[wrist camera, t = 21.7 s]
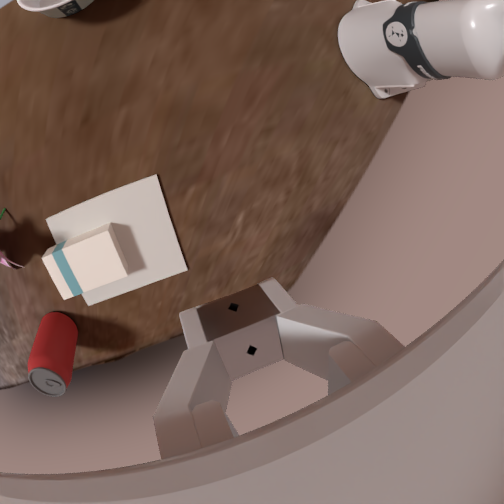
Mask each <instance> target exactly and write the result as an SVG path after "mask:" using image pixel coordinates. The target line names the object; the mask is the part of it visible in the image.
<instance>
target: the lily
mask: <svg viewBox="0 0 504 504" xmlns="http://www.w3.org/2000/svg"><path fill="white" fill-rule="evenodd" d="M5 210H6V208H4V210H3V211H2V213H1V215H0V219H1V217H2V215H3V213H4V211H5ZM5 260H7V261H9V262H10V263H12V264H15V265H17V266H20V265H18V264H16V263H14V262H12V261H10V260H9V259H7V258H6V257H5V256H4V255H3V254H2V252H1V251H0V263H2V264H4V265H6V266H9V265H8V264H7V262H6V261H5ZM9 267H10V266H9ZM20 267H23V266H20ZM11 268H12V267H11ZM13 269H15V268H13ZM15 270H17V269H15Z"/></svg>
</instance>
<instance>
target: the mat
mask: <svg viewBox="0 0 504 504" xmlns="http://www.w3.org/2000/svg"><path fill="white" fill-rule="evenodd" d="M46 221H47V224H48V226H49V228H50V231H51V233H52V235H53V238H54V240H55V242H56V244H59V243H61V242H64V241H66V240H69V239H71V238H73V237H76V236H78V235H80V234H83V233H85V232H88V231H90V230H93V229H95V228H97V227H100V226H102V225H105V224H108V223H110V222H111V225H112V228H113V230H114V233H115V235H116V238H117V240H118V243H119V245H120V248H121V250H122V252H123V255H124V257H125V259H126V262H127V264H128V276H127V277H124V278H121V279H119V280H116V281H113V282H111V283H108V284H105V285H103V286H100V287H97V288H94V289H92V290H89V291H87V292H84V293H82V296H83V297H84V299H85V301H86V303H87V304H88V306H90V305H92V304H95V303H98V302H101V301H103V300H106V299H109V298H112V297H114V296H117V295H120V294H123V293H125V292H128V291H131V290H134V289H137V288H139V287H142V286H145V285H148V284H150V283H153V282H156V281H159V280H161V279H164V278H167V277H170V276H173V275H175V274H178V273H181V272H184V271H187V267H186V264H185V261H184V258H183V255H182V253H181V250H180V247H179V244H178V241H177V238H176V235H175V232H174V229H173V226H172V223H171V220H170V217H169V213H168V210H167V207H166V204H165V201H164V198H163V194H162V191H161V188H160V184H159V181H158V178H157V174H156V175H153V176H150V177H147V178H144V179H141V180H138V181H136V182H133V183H130V184H127V185H125V186H122V187H119V188H117V189H114V190H112V191H109V192H106V193H104V194H101V195H99V196H97V197H94V198H92V199H89V200H87V201H84V202H82V203H80V204H77V205H75V206H73V207H71V208H68V209H66V210H64V211H62V212H60V213H57V214H55V215H53V216H51V217H49V218H47V219H46Z"/></svg>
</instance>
